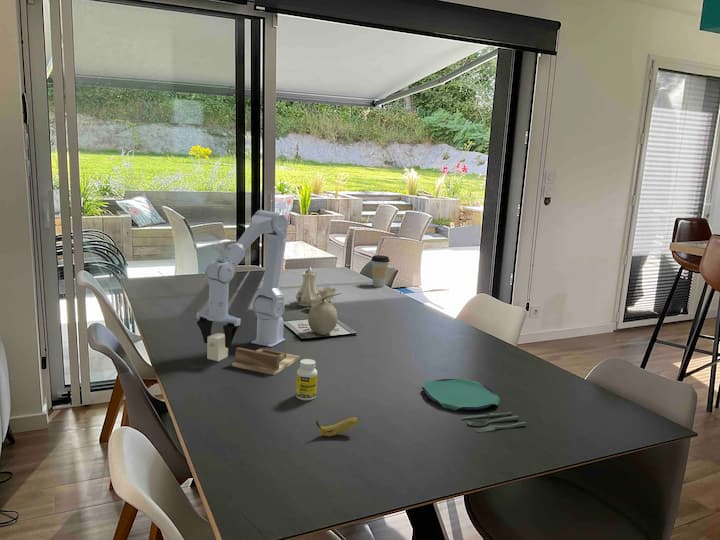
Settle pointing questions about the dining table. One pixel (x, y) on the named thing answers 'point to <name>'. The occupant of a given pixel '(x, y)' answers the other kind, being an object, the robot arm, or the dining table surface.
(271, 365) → the board
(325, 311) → the fruit
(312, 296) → the chinaware
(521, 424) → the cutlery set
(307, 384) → the supplement bottle
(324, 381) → the dining table surface
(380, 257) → the coffee cup
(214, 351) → the cabinet block
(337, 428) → the banana
